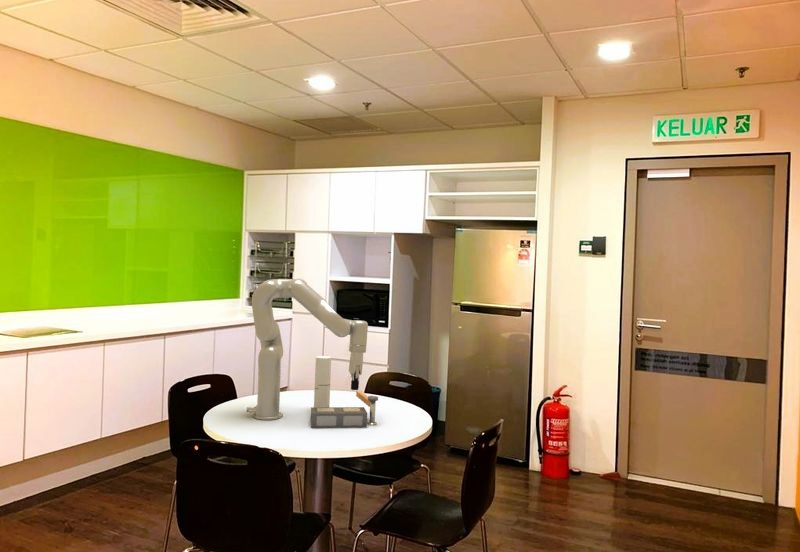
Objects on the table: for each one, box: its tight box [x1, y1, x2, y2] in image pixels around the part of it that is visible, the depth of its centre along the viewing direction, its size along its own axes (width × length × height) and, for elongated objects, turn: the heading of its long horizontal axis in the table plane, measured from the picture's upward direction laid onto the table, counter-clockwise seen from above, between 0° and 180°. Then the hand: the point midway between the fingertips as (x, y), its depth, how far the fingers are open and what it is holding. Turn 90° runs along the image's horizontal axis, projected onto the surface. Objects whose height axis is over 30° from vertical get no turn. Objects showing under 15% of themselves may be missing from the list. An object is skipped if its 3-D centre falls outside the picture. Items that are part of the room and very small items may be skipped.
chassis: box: [310, 406, 368, 429], centre depth 256 cm, size 23×11×6 cm, turn 101°
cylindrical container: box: [313, 355, 332, 407], centre depth 279 cm, size 7×7×25 cm
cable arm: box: [355, 390, 379, 408], centre depth 270 cm, size 26×4×5 cm, turn 19°
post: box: [367, 401, 378, 426], centre depth 259 cm, size 4×4×10 cm
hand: (354, 389), depth 268 cm, fingers closed
